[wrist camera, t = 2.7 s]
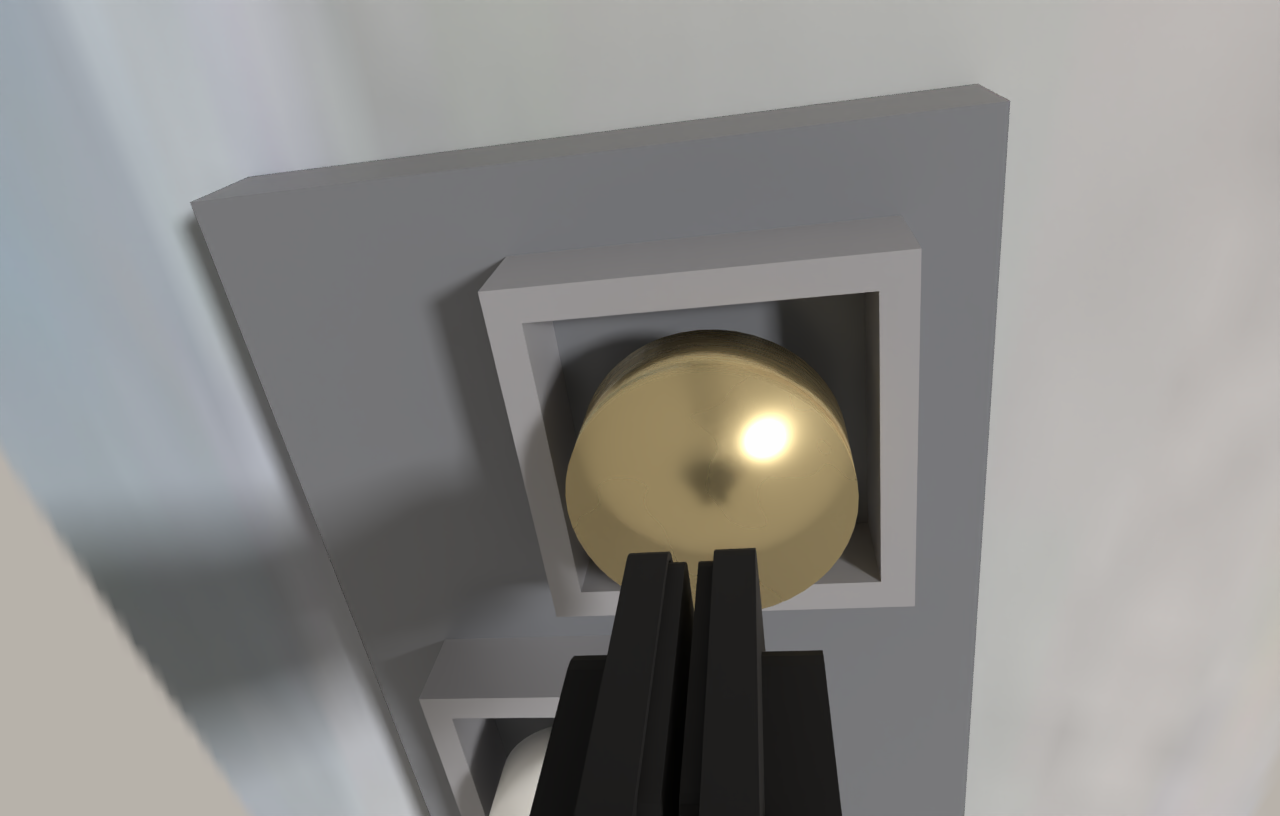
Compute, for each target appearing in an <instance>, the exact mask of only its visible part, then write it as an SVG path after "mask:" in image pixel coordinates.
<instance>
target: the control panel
mask: <svg viewBox="0 0 1280 816" xmlns="http://www.w3.org/2000/svg"><path fill="white" fill-rule="evenodd" d="M1009 111H1010V101H1009V100H1008V99H1006V98H1004V97H1002V96H1000V95H998V94H996V93H994V92H992V91H990V90H989V89H987V88H985V87H983V86H981V85H979V84H972V85H965V86H957V87H949V88H941V89H933V90H925V91H918V92H910V93H902V94H894V95H886V96H878V97H871V98H863V99H855V100H847V101H839V102H831V103H824V104H816V105H808V106H800V107H792V108H784V109H777V110H769V111H761V112H753V113H745V114H737V115H730V116H722V117H714V118H706V119H698V120H690V121H683V122H675V123H667V124H659V125H651V126H643V127H636V128H628V129H620V130H612V131H604V132H596V133H589V134H581V135H573V136H565V137H557V138H549V139H542V140H534V141H526V142H518V143H510V144H502V145H495V146H487V147H479V148H471V149H463V150H455V151H448V152H440V153H432V154H424V155H416V156H408V157H401V158H393V159H385V160H377V161H369V162H361V163H354V164H346V165H338V166H330V167H322V168H314V169H307V170H299V171H291V172H283V173H275V174H267V175H260V176H252V177H247V178H245V179H243V180H240V181H238V182H236V183H233V184H231V185H229V186H226V187H224V188H222V189H220V190H217V191H215V192H213V193H210V194H208V195H206V196H204V197H201V198H199V199H197V200H194V201H192V202H190V203H191V206H192V208H193V211H194V213H195V216H196V218H197V221H198V223H199V226H200V228H201V231H202V234H203V236H204V239H205V241H206V244H207V246H208V249H209V251H210V254H211V257H212V259H213V262H214V264H215V267H216V269H217V272H218V274H219V277H220V280H221V282H222V285H223V287H224V290H225V292H226V295H227V297H228V300H229V303H230V305H231V308H232V310H233V313H234V315H235V318H236V320H237V323H238V326H239V328H240V331H241V333H242V336H243V338H244V341H245V343H246V346H247V349H248V351H249V354H250V356H251V359H252V361H253V364H254V366H255V369H256V372H257V374H258V377H259V379H260V382H261V384H262V387H263V389H264V392H265V395H266V397H267V400H268V402H269V405H270V407H271V410H272V412H273V415H274V418H275V420H276V423H277V425H278V428H279V430H280V433H281V435H282V438H283V440H284V443H285V446H286V448H287V451H288V453H289V456H290V458H291V461H292V463H293V466H294V469H295V471H296V474H297V476H298V479H299V481H300V484H301V486H302V489H303V492H304V494H305V497H306V499H307V502H308V504H309V507H310V509H311V512H312V515H313V517H314V520H315V522H316V525H317V527H318V530H319V532H320V535H321V538H322V540H323V543H324V545H325V548H326V550H327V553H328V555H329V558H330V561H331V563H332V566H333V568H334V571H335V573H336V576H337V578H338V581H339V584H340V586H341V589H342V591H343V594H344V596H345V599H346V601H347V604H348V607H349V609H350V612H351V614H352V617H353V619H354V622H355V624H356V627H357V630H358V632H359V635H360V637H361V640H362V642H363V645H364V647H365V650H366V653H367V655H368V658H369V660H370V663H371V665H372V668H373V670H374V673H375V675H376V678H377V681H378V683H379V686H380V688H381V691H382V693H383V696H384V698H385V701H386V704H387V706H388V709H389V711H390V714H391V716H392V719H393V721H394V724H395V727H396V729H397V732H398V734H399V737H400V739H401V742H402V744H403V747H404V750H405V752H406V755H407V757H408V760H409V762H410V765H411V767H412V770H413V773H414V775H415V778H416V780H417V783H418V785H419V788H420V790H421V793H422V796H423V798H424V801H425V803H426V806H427V808H428V811H429V813H430V816H489V814H490V811H491V807H492V804H493V801H494V797H495V794H496V791H497V787H498V784H499V781H500V777H501V774H502V771H503V767H504V764H505V762H506V759H507V757H508V756H509V754H510V752H511V751H512V750H513V749H514V748H515V747H516V745H517V744H518V743H520V742H521V741H522V740H524V739H525V738H526V737H528V736H530V735H532V734H533V733H535V732H538V731H540V730H543V729H545V728H549V727H552V726H553V722H554V718H555V714H556V710H557V707H558V703H559V699H560V695H561V691H562V687H563V683H564V680H565V676H566V672H567V668H568V666H569V663H570V660H571V659H572V658H573V656H582V655H607V653H608V648H609V643H610V638H611V633H612V629H613V624H614V619H615V614H616V609H617V604H618V599H619V594H620V589H621V586H620V585H619V584H617V583H616V582H615V581H613V580H612V579H611V578H609V577H608V576H607V575H606V574H605V573H604V572H603V571H602V570H601V569H600V568H599V567H598V566H597V565H596V564H595V563H594V561H593V560H592V559H591V558H590V557H589V555H588V554H587V553H586V551H585V550H584V548H583V547H582V545H581V543H580V542H579V540H578V538H577V536H576V534H575V532H574V529H573V527H572V524H571V521H570V518H569V514H568V511H567V503H566V496H565V492H566V475H567V470H568V464H569V461H570V458H571V456H572V453H573V450H574V447H575V444H576V441H577V438H578V435H579V433H580V430H581V427H582V424H583V421H584V418H585V415H586V412H587V410H588V407H589V404H590V401H591V399H592V397H593V395H594V393H595V392H596V390H597V388H598V386H599V385H600V384H601V382H602V381H603V379H604V378H605V377H606V375H607V374H608V373H609V372H610V371H611V370H612V369H613V368H614V367H615V366H616V365H617V364H618V363H619V362H620V361H622V360H623V359H624V358H626V357H627V356H628V355H629V354H631V353H632V352H634V351H636V350H637V349H639V348H641V347H643V346H644V345H646V344H648V343H651V342H653V341H655V340H658V339H660V338H663V337H666V336H670V335H673V334H677V333H681V332H688V331H694V330H714V329H718V330H728V331H737V332H742V333H746V334H751V335H755V336H758V337H761V338H763V339H766V340H769V341H772V342H774V343H776V344H778V345H780V346H782V347H784V348H786V349H788V350H789V351H791V352H792V353H794V354H795V355H797V356H798V357H800V358H801V359H803V360H804V361H805V362H806V363H807V364H808V365H809V366H810V367H812V368H813V369H814V370H815V371H816V372H817V373H818V374H819V376H820V377H821V378H822V379H823V380H824V382H825V383H826V384H827V385H828V387H829V389H830V390H831V392H832V393H833V395H834V397H835V398H836V401H837V403H838V405H839V407H840V410H841V412H842V415H843V419H844V423H845V426H846V431H847V435H848V440H849V445H850V449H851V454H852V458H853V463H854V468H855V472H856V477H857V483H858V493H859V501H858V514H857V518H856V523H855V527H854V530H853V533H852V535H851V538H850V540H849V543H848V544H847V546H846V548H845V549H844V551H843V553H842V555H841V556H840V558H839V559H838V560H837V561H836V563H835V564H834V565H833V566H832V568H831V569H830V570H829V571H828V572H827V573H826V574H825V575H824V576H823V577H822V578H821V579H820V580H818V581H817V582H816V583H814V584H813V585H812V586H810V587H809V588H808V589H806V590H805V591H803V592H801V593H800V594H798V595H796V596H794V597H792V598H791V599H789V600H786V601H784V602H781V603H779V604H777V605H774V606H771V607H768V608H764V609H762V617H763V628H764V639H765V650H766V651H809V650H823V655H824V663H825V671H826V680H827V688H828V697H829V706H830V714H831V723H832V732H833V740H834V749H835V758H836V766H837V775H838V784H839V792H840V801H841V810H842V816H964V811H965V795H966V780H967V764H968V749H969V733H970V718H971V702H972V687H973V671H974V655H975V640H976V624H977V609H978V593H979V578H980V562H981V547H982V531H983V515H984V500H985V484H986V469H987V453H988V438H989V422H990V407H991V391H992V375H993V360H994V344H995V329H996V313H997V298H998V282H999V267H1000V251H1001V235H1002V220H1003V204H1004V189H1005V173H1006V158H1007V142H1008V127H1009Z"/></svg>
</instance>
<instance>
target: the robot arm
mask: <svg viewBox="0 0 1280 816" xmlns="http://www.w3.org/2000/svg"><path fill="white" fill-rule="evenodd" d="M529 816H842V810H841V801H840V792H839V784H838V775H837V766H836V758H835V749H834V740H833V732H832V723H831V714H830V706H829V697H828V688H827V680H826V671H825V663H824V655H823V650H809V651H766V650H765V639H764V628H763V617H762V606H761V595H760V584H759V573H758V562H757V553H756V548H739V549H715V550H714V556H713V561H699V563H698V571H697V583H696V596H695V608H694V606H693V599H692V592H691V585H690V578H689V570H688V565H687V563H686V562H673V559H672V555H671V553H670V552H669V551H668V552H645V553H629V554H628V557H627V560H626V565H625V570H624V575H623V580H622V585H621V589H620V594H619V599H618V604H617V609H616V614H615V619H614V624H613V629H612V633H611V638H610V643H609V648H608V653H607V655H582V656H573V658H572V659H571V660H570V663H569V666H568V668H567V672H566V676H565V680H564V683H563V687H562V691H561V695H560V699H559V703H558V707H557V710H556V714H555V718H554V722H553V726H552V730H551V734H550V738H549V741H548V745H547V749H546V753H545V757H544V761H543V765H542V769H541V772H540V776H539V780H538V784H537V788H536V792H535V796H534V800H533V803H532V807H531V811H530V815H529Z"/></svg>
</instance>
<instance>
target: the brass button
mask: <svg viewBox="0 0 1280 816" xmlns="http://www.w3.org/2000/svg"><path fill="white" fill-rule="evenodd" d="M565 496H566V503H567V511H568V514H569V518H570V521H571V524H572V527H573V529H574V532H575V534H576V536H577V538H578V540H579V542H580V543H581V545H582V547H583V548H584V550H585V551H586V553H587V554H588V555H589V557H590V558H591V559H592V560H593V561H594V563H595V564H596V565H597V566H598V567H599V568H600V569H601V570H602V571H603V572H604V573H605V574H606V575H607V576H608V577H609V578H611V579H612V580H613V581H615V582H616V583H617V584H619V585H620V586H621V585H622V580H623V575H624V570H625V565H626V560H627V557H628V554H629V553H645V552H668V551H669V552H670V553H671V555H672V559H673V562H686V563H687V565H688V570H689V578H690V585H691V592H692V599H693V606H694V608H695V596H696V583H697V571H698V563H699V561H713V556H714V550H715V549H739V548H756V553H757V562H758V573H759V584H760V595H761V606H762V609H764V608H768V607H771V606H774V605H777V604H779V603H781V602H784V601H786V600H789V599H791V598H792V597H794V596H796V595H798V594H800V593H801V592H803V591H805V590H806V589H808V588H809V587H810V586H812V585H813V584H814V583H816V582H817V581H818V580H820V579H821V578H822V577H823V576H824V575H825V574H826V573H827V572H828V571H829V570H830V569H831V568H832V566H833V565H834V564H835V563H836V561H837V560H838V559H839V558H840V556H841V555H842V553H843V551H844V549H845V548H846V546H847V544H848V543H849V540H850V538H851V535H852V533H853V530H854V527H855V523H856V518H857V514H858V501H859V493H858V483H857V477H856V472H855V468H854V463H853V458H852V454H851V449H850V445H849V440H848V435H847V431H846V426H845V423H844V419H843V415H842V412H841V410H840V407H839V405H838V403H837V401H836V398H835V397H834V395H833V393H832V392H831V390H830V389H829V387H828V385H827V384H826V383H825V382H824V380H823V379H822V378H821V377H820V376H819V374H818V373H817V372H816V371H815V370H814V369H813V368H812V367H810V366H809V365H808V364H807V363H806V362H805V361H804V360H803V359H801V358H800V357H798V356H797V355H795V354H794V353H792V352H791V351H789V350H788V349H786V348H784V347H782V346H780V345H778V344H776V343H774V342H772V341H769V340H766V339H763V338H761V337H758V336H755V335H751V334H746V333H742V332H737V331H728V330H718V329H714V330H694V331H688V332H681V333H677V334H673V335H670V336H666V337H663V338H660V339H658V340H655V341H653V342H651V343H648V344H646V345H644V346H643V347H641V348H639V349H637V350H636V351H634V352H632V353H631V354H629V355H628V356H627V357H626V358H624V359H623V360H622V361H620V362H619V363H618V364H617V365H616V366H615V367H614V368H613V369H612V370H611V371H610V372H609V373H608V374H607V375H606V377H605V378H604V379H603V381H602V382H601V384H600V385H599V386H598V388H597V390H596V392H595V393H594V395H593V397H592V399H591V401H590V404H589V407H588V410H587V412H586V415H585V418H584V421H583V424H582V427H581V430H580V433H579V435H578V438H577V441H576V444H575V447H574V450H573V453H572V456H571V458H570V461H569V464H568V470H567V475H566V492H565Z"/></svg>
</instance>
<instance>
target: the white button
mask: <svg viewBox="0 0 1280 816" xmlns="http://www.w3.org/2000/svg"><path fill="white" fill-rule="evenodd" d="M551 730H552V727H549V728H545V729H543V730H540V731H538V732H535V733H533V734H532V735H530V736H528V737H526V738H525V739H524V740H522V741H521V742H520V743H518V744H517V745H516V747H515V748H514V749H513V750H512V751H511V752H510V754H509V756H508V757H507V759H506V762H505V764H504V767H503V771H502V774H501V777H500V781H499V784H498V787H497V791H496V794H495V797H494V801H493V804H492V807H491V811H490V814H489V816H529V815H530V811H531V807H532V803H533V800H534V796H535V792H536V788H537V784H538V780H539V776H540V772H541V769H542V765H543V761H544V757H545V753H546V749H547V745H548V741H549V738H550V734H551Z"/></svg>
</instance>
